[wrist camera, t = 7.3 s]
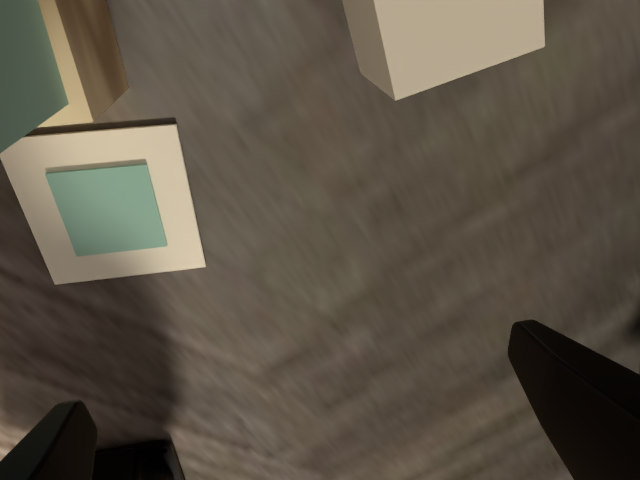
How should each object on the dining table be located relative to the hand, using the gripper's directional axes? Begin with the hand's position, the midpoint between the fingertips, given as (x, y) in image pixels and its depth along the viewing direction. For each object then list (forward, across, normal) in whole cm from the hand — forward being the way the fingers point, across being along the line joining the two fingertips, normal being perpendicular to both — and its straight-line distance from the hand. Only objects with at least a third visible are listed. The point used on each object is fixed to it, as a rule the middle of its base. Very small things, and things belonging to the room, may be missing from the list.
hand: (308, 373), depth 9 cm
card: (+12, +7, +1) cm, 14 cm away
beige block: (+12, -6, -6) cm, 15 cm away
